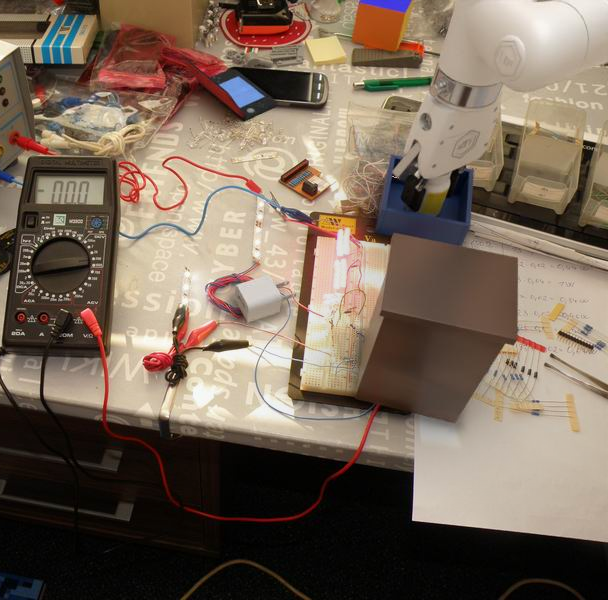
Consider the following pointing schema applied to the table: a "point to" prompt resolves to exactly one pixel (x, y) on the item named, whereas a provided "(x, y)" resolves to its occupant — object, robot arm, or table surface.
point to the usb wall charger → (260, 297)
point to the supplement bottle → (433, 195)
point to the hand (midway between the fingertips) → (426, 197)
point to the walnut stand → (437, 326)
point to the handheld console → (234, 92)
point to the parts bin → (441, 229)
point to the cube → (382, 23)
